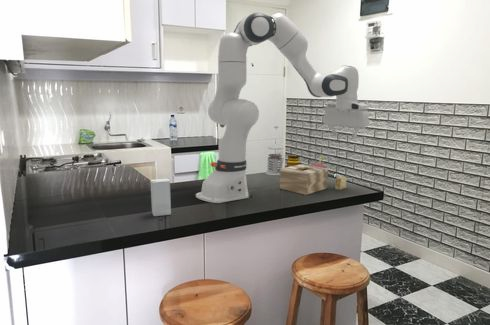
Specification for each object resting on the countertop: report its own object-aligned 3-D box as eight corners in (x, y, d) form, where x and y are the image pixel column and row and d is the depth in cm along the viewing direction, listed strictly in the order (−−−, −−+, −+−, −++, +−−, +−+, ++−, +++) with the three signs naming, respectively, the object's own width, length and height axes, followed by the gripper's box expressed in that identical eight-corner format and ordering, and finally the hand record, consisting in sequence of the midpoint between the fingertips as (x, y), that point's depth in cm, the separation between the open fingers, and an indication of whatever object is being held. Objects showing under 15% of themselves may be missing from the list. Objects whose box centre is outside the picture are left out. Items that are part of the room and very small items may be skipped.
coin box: (305, 194, 154) (307, 173, 152) (279, 188, 164) (280, 168, 162) (326, 188, 165) (328, 168, 164) (301, 182, 175) (302, 164, 173)
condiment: (290, 181, 177) (291, 156, 175) (280, 177, 185) (281, 154, 182) (302, 180, 181) (304, 155, 178) (292, 176, 188) (293, 153, 186)
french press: (277, 170, 201) (279, 124, 196) (289, 175, 191) (291, 126, 186) (261, 172, 197) (263, 125, 192) (273, 176, 186) (274, 127, 182)
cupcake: (320, 174, 193) (321, 152, 191) (328, 178, 185) (330, 154, 183) (305, 175, 190) (306, 152, 188) (313, 179, 182) (314, 155, 180)
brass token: (340, 189, 164) (340, 178, 163) (335, 188, 165) (335, 177, 164) (345, 188, 167) (346, 177, 166) (340, 186, 169) (341, 176, 168)
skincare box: (168, 211, 130) (168, 177, 127) (171, 215, 126) (170, 180, 123) (151, 213, 127) (150, 178, 125) (153, 217, 123) (152, 182, 121)
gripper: (321, 104, 164) (319, 134, 167) (364, 105, 150) (361, 139, 153) (329, 103, 169) (327, 133, 171) (371, 105, 155) (369, 138, 157)
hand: (344, 136), depth 162 cm, fingers open, 8 cm apart
